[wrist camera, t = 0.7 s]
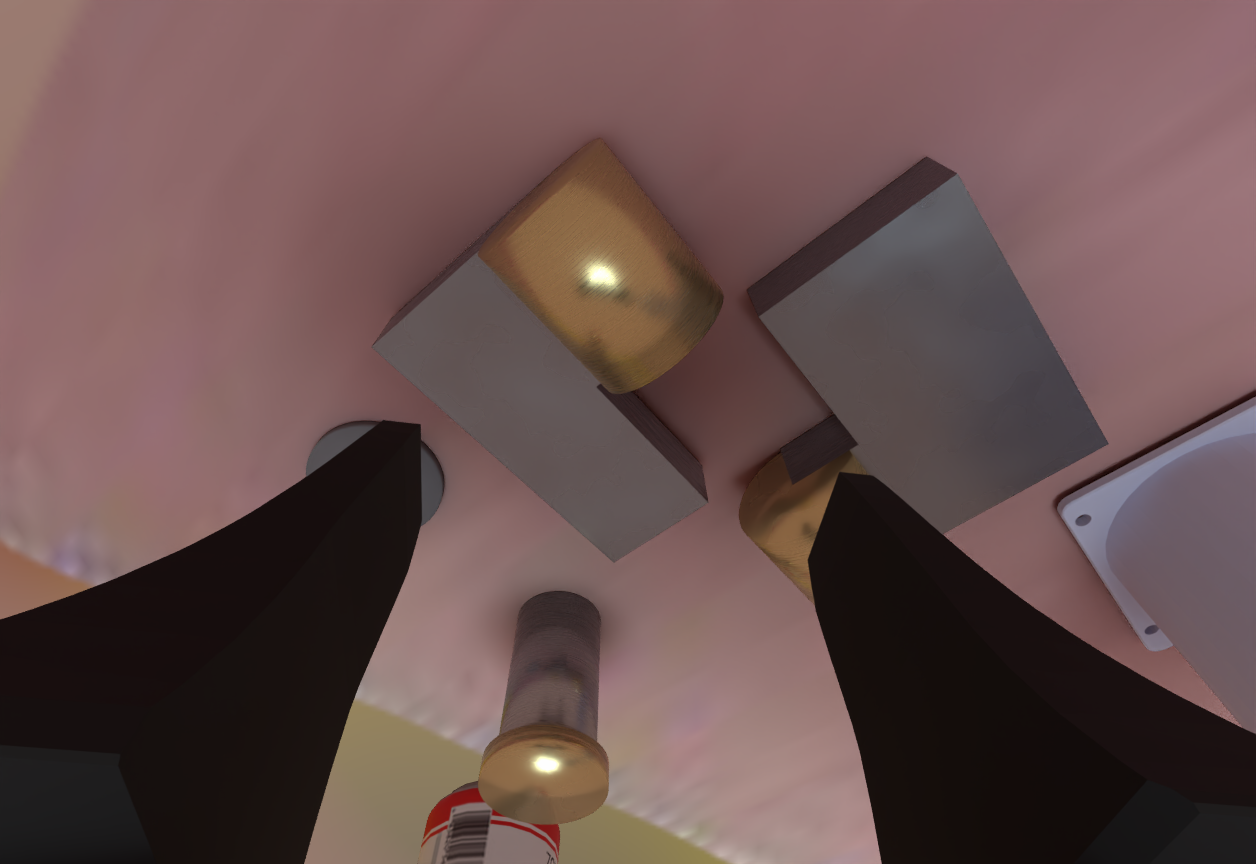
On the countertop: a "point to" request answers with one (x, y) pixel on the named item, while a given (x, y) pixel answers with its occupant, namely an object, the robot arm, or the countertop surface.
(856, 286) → the fixed leaf
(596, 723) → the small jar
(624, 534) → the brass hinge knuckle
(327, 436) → the pad
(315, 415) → the countertop surface
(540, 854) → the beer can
